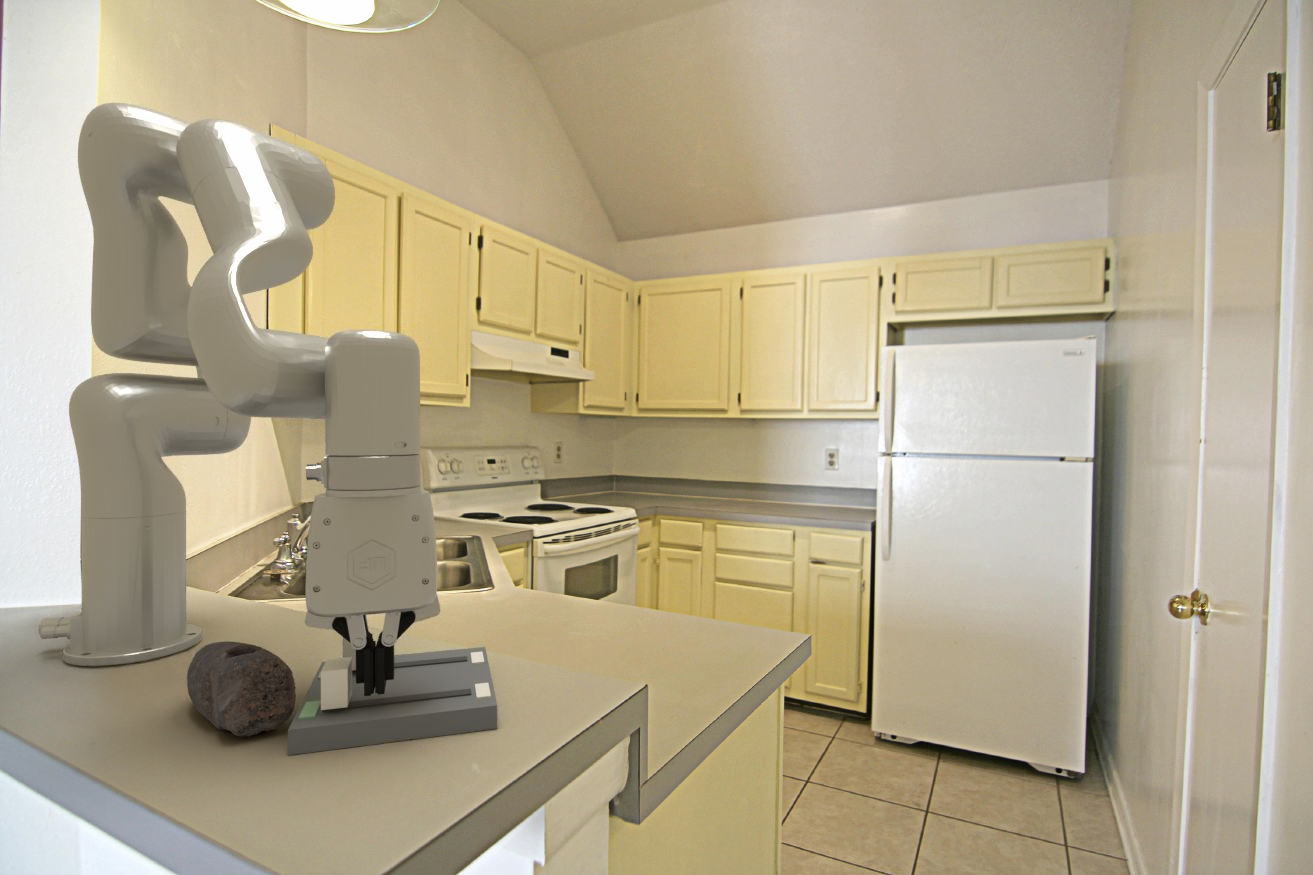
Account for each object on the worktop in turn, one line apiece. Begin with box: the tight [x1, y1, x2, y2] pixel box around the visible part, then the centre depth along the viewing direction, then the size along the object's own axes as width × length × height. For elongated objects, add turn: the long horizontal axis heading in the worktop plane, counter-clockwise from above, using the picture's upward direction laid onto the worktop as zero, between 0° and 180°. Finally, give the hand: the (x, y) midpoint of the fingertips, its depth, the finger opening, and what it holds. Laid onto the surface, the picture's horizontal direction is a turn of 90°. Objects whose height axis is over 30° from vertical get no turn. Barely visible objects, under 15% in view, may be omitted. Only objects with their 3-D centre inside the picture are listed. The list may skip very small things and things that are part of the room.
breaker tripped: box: [321, 657, 352, 710], centre depth 57 cm, size 2×3×3 cm, turn 18°
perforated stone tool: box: [186, 640, 296, 737], centre depth 59 cm, size 15×5×7 cm, turn 52°
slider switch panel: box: [287, 646, 498, 756], centre depth 62 cm, size 16×16×2 cm
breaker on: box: [342, 637, 356, 670], centre depth 65 cm, size 2×3×3 cm, turn 18°
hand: (375, 689), depth 57 cm, fingers closed
